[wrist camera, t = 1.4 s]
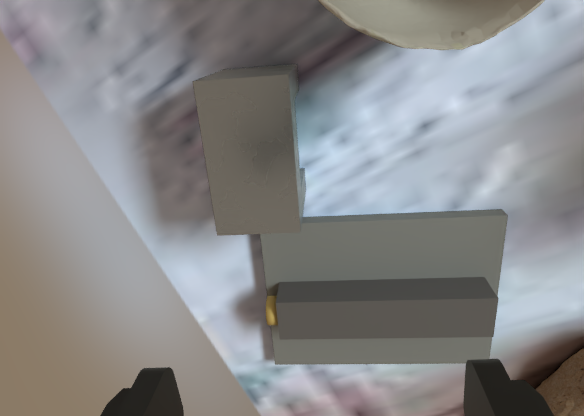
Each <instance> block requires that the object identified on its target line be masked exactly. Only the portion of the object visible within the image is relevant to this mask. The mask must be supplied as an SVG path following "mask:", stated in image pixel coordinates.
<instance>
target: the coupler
mask: <svg viewBox="0 0 584 416" xmlns="http://www.w3.org/2000/svg"><path fill="white" fill-rule="evenodd" d="M507 218H508V215H507V214H506V213H505V212H504V211H503V210H502V209H497V210H472V211H447V212H422V213H397V214H372V215H347V216H322V217H303V218H302V226H301V232H299V233H272V234H260V239H261V247H262V256H263V264H264V273H265V281H266V290H267V300H266V320H267V324H268V325H271V332H272V341H273V350H274V358H275V364H440V363H466V362H467V360H478V359H489V357H490V349H491V341H492V337H493V335H494V327H495V320H496V312H497V304H498V297H497V295H498V287H499V280H500V272H501V264H502V256H503V249H504V241H505V233H506V225H507Z"/></svg>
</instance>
